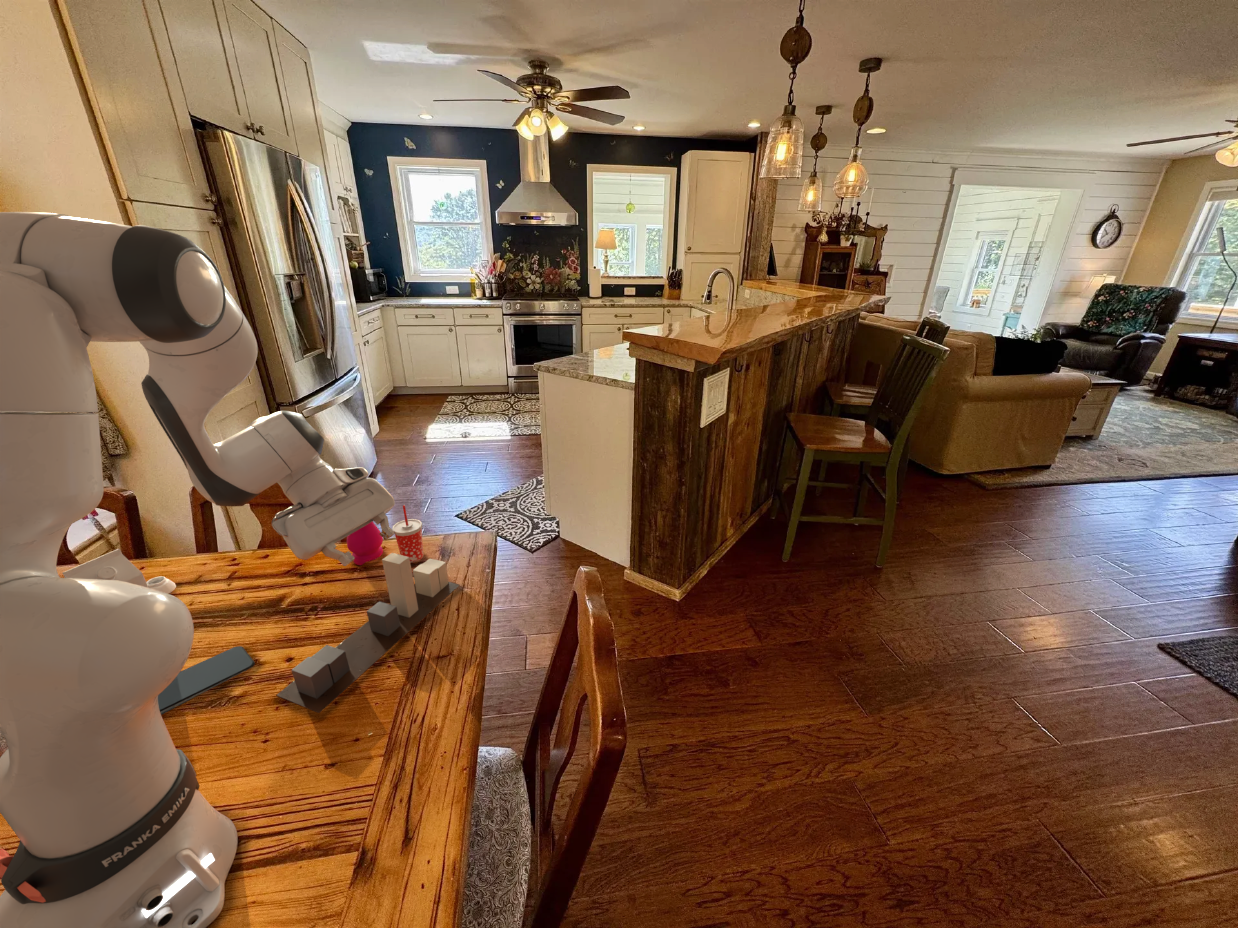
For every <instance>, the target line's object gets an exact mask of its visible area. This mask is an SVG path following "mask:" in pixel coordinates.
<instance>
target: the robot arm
mask: <svg viewBox="0 0 1238 928" xmlns="http://www.w3.org/2000/svg"><path fill="white" fill-rule="evenodd" d="M91 342H96V343H97V342H100V343H137V342H139V343H140V344H141V345H142V347H143V348H144V349H145V352H146V353H147V357H148V371H147V374H146V375H145V376H144V378H143V380H142V381H141V384H140V385H141V389H142V392H143V395H144V398H145V400H146V403H147V404H148V406H149V408H150V409H151V411H152V413H153V414H154V417H155V419H156V420H157V422H158V423H159V425H160V426H161V428H162V430H163V431H164V433H165V435H166V436H167V437H168V439H169V441H170V443H171V444H172V446H173V447H174V449H175V451H176V453H177V454H178V456H179V457H180V459H181V460H182V462H183V465H184V466H185V468H186V470H187V473H188V476H189V479H190V481H191V484H192V485H193V486H194V488H195V490H197V492H198V493H199V494H200V495H201V496H202V497H203V498H204V499H206V501H208V502H210V503H212V504H214V505H215V506H218V507H244V506H245V505H247V504H248V503H250V502H251V501H252V500H253V499H255V498H256V497H258V496H259V495H260V494H261V493H263V492H264V491H266V490H267V489H269V488H270V487H272V486H273V485H275V484H278V485H279V486H280V488H281V490H282V492H283V494H284V496H285V497H286V498H287V499H288V500H289V501H290V502H291V503H292V504H293V505H291V506H289V507H288V508H286V509H284V510H281V511H279V512H276V513H275V515H274V517H273V518H272V520H271V527H272V529H273V530H275V532H276V533H277V534H278V535H279V536H280V537H282V538H283V540H284V542H285V543H286V544H287V547H288V548H289V549H290V551H291V552H292V554H294V556H295V557H296V558H297V559H299V560H304V561H308V560H309V559H311V558H313V557H315V556H316V555H318V554H320V553H322V554H323V555H324V556H325V557H327V558H330V559H333V560H336V561H338V562H340V564H341V565H342V566H343V567H347V566H349V565H350V564H351V563H354V562H353V560H354V559H355V558H354V556H353V555H352V552H351V551H350V550H348V551H345V552H343V551H341V550H339V549H336V548H337V545H336V544H337V543H339V542H340V541H341V540H343V539H345V538H347V536H349V535H350V534H352V533H354V532H355V531H357V530H359V529H361V528H362V527H364V526H366V525H367V524H369V523H371V522H373V523H374V524H375V525H376V526H377V525H380V529H381V531H380V532H381V533H380V535H381V537H383V541H384V540H385V541H387V540H388V539H390V538H392V537H393V536H395V534H394V531H393V530H392V527H391V526H390V523H389V518H388V517H389V516H388V515H387V514H388V513H389V512H390V511H391V510H392V509H393V508H394V507H395V505H396V501H395V499H394V497H393V495H392V494H391V492H389V491H388V490H387V489H386V488H385V487H384V486H383V484H382V483H380V482H379V481H378V480H376V479H375V478H372V477H368V476H369V472H368V470H367V469H366V468H365V467H362V466H359V467H351V468H335V469H334V467H332V465H330V464H329V463H328V462H326V461H324V459H322V458H321V455H322V452H323V447H324V442H325V439H324V437H323V436H322V435H321V434H320V433H319V432H318V431H317V430H316V429H315V427H313V426H312V425H311V424H310V423H309V422H308V420H307V419H306V417H305V416H304V415H303V414H302V413H299V412H294V411H289V410H280V411H276V412H273V413H271V414H269V415H265V416H261V417H258V418H256V419H255V420H253V421H251V422H250V423H249V424H248V425H246V427H245V428H244V429H241V430H240V431H239V432H236V433H235V434H233V435H231V436H229V437H228V438H225V439H223V440H222V441H219V442H217V443H213V441H212V439H211V437H210V435H209V433H208V431H207V430H206V427H205V423H206V420H207V418H208V416H209V415H210V413H211V412H212V411H213V410H214V409H215V408H216V406H217V405H218V404H219V403H220V402H221V401H222V400H223V399H224V398H226V396H228V395H229V394H230V393H231V392H232V391H234V390H235V389H236V388H237V387H239V386H241V384H242V383H243V382H244V381H245V380H246V379H247V377H249V376H250V373H251V372H252V370H253V369H254V367H255V365H256V361H257V359H258V358H257V357H258V352H259V349H258V348H259V347H258V342H257V339H256V336H255V334H254V331H253V328H252V327H251V325H250V323H249V321H248V319H247V317H246V316H245V314H244V313H243V311H242V310H241V308H240V306H239V305H238V302H236V300H235V299H234V297H233V295H232V294H231V293H230V292H229V290H228V289H227V287H226V286H225V283H224V281H223V278H222V275H221V272H220V270H219V268H218V266H217V264H216V263H215V262H214V260H212V258H211V257H210V256H209V255H208V254H207V253H206V252H205V251H204V250H203V249H202V248H201V247H200V246H199V245H197V244H196V243H195V242H193V241H192V240H191V239H189V238H188V237H186V236H184V235H181V234H178V233H176V232H172V231H169V230H166V229H162V228H159V227H154V226H149V225H145V224H138V225H133V226H131V225H127V224H122V223H115V222H110V221H103V220H95V219H91V218H89V219H88V218H81V217H74V216H71V215H68V214H63V213H53V212H52V213H51V212H33V211H31V212H30V211H0V734H1V735H2V736H3V738H4V740H5V742H6V745H7V749H6V750H5V751H3V753H2V755H1V756H0V814H1V816H2V817H3V819H4V820H5V821H6V823H7V824H8V825H9V827H10V828H11V830H12V831H13V832H14V834H15V835H16V837H17V838H18V839H19V843H18V846H17V849H16V851H15V853H14V855H10V853H9V852H8V851H7V850H5V849H4V848H0V883H1V885H2V886H3V888H4V890H3V892H2V893H1V895H0V928H207V927H209V926H210V924H212V923H213V922H214V921H215V920H216V919H217V918H218V917H219V915H220V914H221V913H222V910H223V908H224V904H225V892H226V890H225V889H226V888H225V883H226V880H227V877H228V874H229V872H230V870H231V867H232V865H233V863H234V859H235V858H236V854H237V850H238V843H239V836H238V835H239V834H238V830H237V828H236V825H235V823H234V822H233V821H232V819H230V818H229V817H228V816H226V815H225V814H223V813H221V812H220V811H218V810H217V809H216V808H214V807H213V805H211V804H210V802H209V801H208V800H207V799H206V798H205V796H204V795H203V794H202V792H201V791H200V790H199V789H200V783H199V781H198V779H197V773H196V770H195V768H194V766H193V764H192V763H191V761H190V759H189V758H188V756H187V755H186V754H185V753H184V751H183V750H182V749H178V748H176V746H175V744H174V742H173V739H172V737H171V734H170V732H169V731H168V727H167V725H166V724H165V721H164V719H163V716H162V714H161V713H160V710H159V705H158V695H159V694H160V693H161V692H162V691H163V690H164V689H165V688H166V687H167V686H168V685H169V684H170V683H171V682H172V681H173V680H174V679H175V678H176V677H177V675H178V674H179V672H180V671H182V669H183V668H184V666H185V664H186V663H187V660H188V659H189V657H190V654H191V651H192V647H193V643H194V639H195V638H194V637H195V628H194V626H195V625H194V619H193V617H192V614H191V611H190V609H189V608H188V607H187V604H186V603H184V602H183V601H182V599H180V598H178V597H177V596H174V595H172V594H171V593H169V594H167V593H164V592H161V591H157V590H154V589H151V588H147V587H144V586H140V585H136V584H132V583H128V582H124V581H118V580H99V579H77V578H65V577H60V575H59V573H58V572H59V571H58V569H57V563H58V555H59V552H60V550H61V546H62V543H63V540H64V538H65V536H66V534H67V532H68V530H69V529H70V528H71V526H72V525H73V524H74V523H76V522H79V521H80V520H82V519H83V518H86V517H87V516H88V515H90V514H91V513H93V511H95V509H96V508H97V507H98V506H99V505H100V503H101V502H102V499H103V497H104V492H105V487H104V475H103V459H102V447H101V432H100V431H101V430H100V419H99V413H98V412H99V405H98V398H97V391H96V382H95V377H94V373H93V368H92V364H91V360H90V356H89V352H88V346H89V344H90V343H91ZM194 921H195V922H194ZM193 922H194V923H193ZM192 923H193V924H192Z"/></svg>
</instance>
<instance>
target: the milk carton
mask: <svg viewBox="0 0 1238 928" xmlns="http://www.w3.org/2000/svg"><path fill="white" fill-rule="evenodd" d="M62 575H63V578H77V579H99V580H118V581H124V582H128V583H132V584H136V585H140V586H144V587H147V588H148V585H147V583H146V582H147V580H146V578H145V577H144V574H143V572H142V571H141V570H140V569H139V568H138V567H137V566H136V565H135V564H133V563H132V562H131V561H130V560H129V559H128V558H127V556H125V555H124V554H123V553H122V551H121V549H120V548H117V549H114V550H113V551H110V552H107V553H105V554H103V555H100V556H98V557H95V558H93V559H90V560H88V561H86V562H84V563H80V564H79V565H77V566H74V567H72V568H69V569H67V570H65V571H62Z"/></svg>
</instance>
